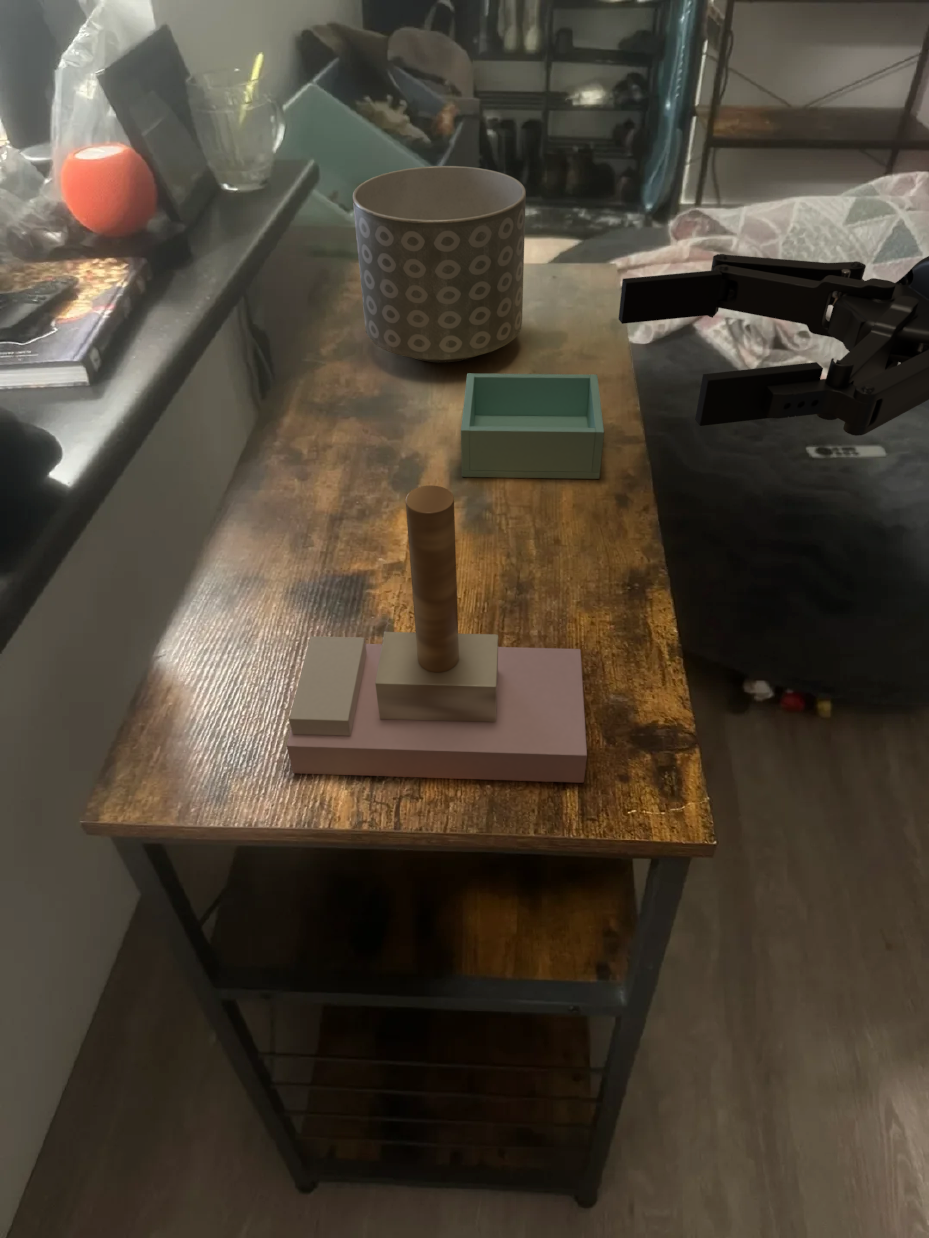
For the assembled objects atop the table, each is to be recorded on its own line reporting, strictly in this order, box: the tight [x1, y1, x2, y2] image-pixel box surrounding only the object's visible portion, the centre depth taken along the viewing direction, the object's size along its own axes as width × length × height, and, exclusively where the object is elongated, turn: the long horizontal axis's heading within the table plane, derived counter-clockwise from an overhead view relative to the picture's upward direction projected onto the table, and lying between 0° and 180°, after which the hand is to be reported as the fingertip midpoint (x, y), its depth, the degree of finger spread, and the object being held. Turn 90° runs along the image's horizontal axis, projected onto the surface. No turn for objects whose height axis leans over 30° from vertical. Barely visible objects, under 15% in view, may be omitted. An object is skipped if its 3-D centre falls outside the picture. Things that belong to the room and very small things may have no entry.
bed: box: [286, 635, 588, 784], centre depth 62 cm, size 20×10×5 cm, turn 87°
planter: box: [352, 165, 527, 364], centre depth 103 cm, size 19×19×18 cm
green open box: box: [460, 372, 605, 480], centre depth 90 cm, size 14×12×5 cm
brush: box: [375, 485, 499, 722], centre depth 56 cm, size 8×5×17 cm, turn 87°
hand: (657, 346), depth 52 cm, fingers open, 13 cm apart
